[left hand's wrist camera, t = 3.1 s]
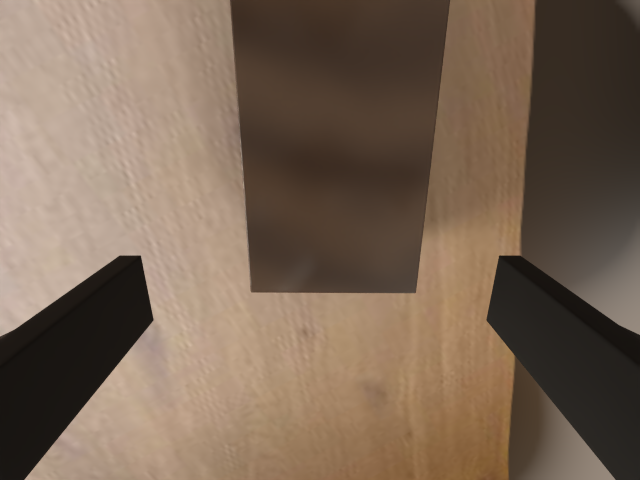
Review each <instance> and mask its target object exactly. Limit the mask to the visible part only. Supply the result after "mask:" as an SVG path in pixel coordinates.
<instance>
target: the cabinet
mask: <svg viewBox="0 0 640 480" xmlns="http://www.w3.org/2000/svg"><path fill="white" fill-rule="evenodd" d="M449 4H450V0H230V5H231V19H232V33H233V47H234V61H235V75H236V89H237V103H238V118H239V132H240V146H241V160H242V174H243V188H244V202H245V216H246V230H247V244H248V258H249V272H250V287H251V292H288V293H416V287H417V278H418V269H419V261H420V252H421V244H422V235H423V227H424V218H425V210H426V201H427V192H428V184H429V175H430V167H431V158H432V150H433V141H434V132H435V124H436V115H437V107H438V98H439V90H440V81H441V73H442V64H443V55H444V47H445V38H446V30H447V21H448V13H449Z"/></svg>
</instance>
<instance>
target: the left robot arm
mask: <svg viewBox="0 0 640 480" xmlns="http://www.w3.org/2000/svg"><path fill="white" fill-rule="evenodd" d="M152 321H153V315H152V310H151V305H150V300H149V295H148V290H147V285H146V280H145V275H144V270H143V264H142V259H141V256H119V257H117V258H116V259H114V260H113V261H112V262H110V263H109V264H107V265H106V266H104V267H103V268H102V269H100V270H99V271H97V272H96V273H95V274H93V275H92V276H90V277H89V278H87V279H86V280H85V281H83V282H82V283H80V284H79V285H77V286H76V287H75V288H73V289H72V290H70V291H69V292H68V293H66V294H65V295H63V296H62V297H60V298H59V299H58V300H56V301H55V302H53V303H52V304H50V305H49V306H48V307H46V308H45V309H43V310H42V311H41V312H39V313H38V314H36V315H35V316H33V317H32V318H31V319H29V320H28V321H26V322H25V323H23V324H22V325H21V326H19V327H18V328H16V329H15V330H13V331H11V332H9V333H7V334H5V335H3V336H1V337H0V480H24V479H25V478H26V477H27V476H28V474H29V473H30V472H31V471H32V470H33V468H34V467H35V466H36V465H37V463H38V462H39V461H40V460H41V458H42V457H43V456H44V455H45V453H46V452H47V451H48V450H49V449H50V447H51V446H52V445H53V444H54V442H55V441H56V440H57V439H58V437H59V436H60V435H61V434H62V432H63V431H64V430H65V429H66V428H67V426H68V425H69V424H70V423H71V421H72V420H73V419H74V418H75V416H76V415H77V414H78V413H79V412H80V410H81V409H82V408H83V407H84V405H85V404H86V403H87V402H88V400H89V399H90V398H91V397H92V395H93V394H94V393H95V392H96V391H97V389H98V388H99V387H100V386H101V384H102V383H103V382H104V381H105V379H106V378H107V377H108V376H109V375H110V373H111V372H112V371H113V370H114V368H115V367H116V366H117V365H118V363H119V362H120V361H121V360H122V358H123V357H124V356H125V355H126V354H127V352H128V351H129V350H130V349H131V347H132V346H133V345H134V344H135V342H136V341H137V340H138V339H139V337H140V336H141V335H142V334H143V333H144V331H145V330H146V329H147V328H148V326H149V325H150V324H151V323H152ZM487 321H488V323H489V324H490V325H491V326H492V328H493V329H494V330H495V331H496V333H497V334H498V335H499V336H500V337H501V339H502V340H503V341H504V342H505V344H506V345H507V346H508V347H509V349H510V350H511V351H512V352H513V354H514V355H515V356H516V357H517V358H518V360H519V361H520V362H521V363H522V365H523V366H524V367H525V368H526V370H527V371H528V372H529V373H530V374H531V376H532V377H533V378H534V379H535V381H536V382H537V383H538V384H539V386H540V387H541V388H542V389H543V390H544V392H545V393H546V394H547V395H548V397H549V398H550V399H551V400H552V402H553V403H554V404H555V405H556V407H557V408H558V409H559V410H560V412H561V413H562V414H563V415H564V416H565V418H566V419H567V420H568V421H569V423H570V424H571V425H572V426H573V428H574V429H575V430H576V431H577V432H578V434H579V435H580V436H581V437H582V439H583V440H584V441H585V442H586V444H587V445H588V446H589V447H590V448H591V450H592V451H593V452H594V453H595V455H596V456H597V457H598V458H599V460H600V461H601V462H602V463H603V465H604V466H605V467H606V468H607V469H608V471H609V472H610V473H611V474H612V476H613V477H614V478H615V479H616V480H640V335H639V334H636V333H634V332H632V331H630V330H628V329H626V328H624V327H622V326H619V325H618V324H617V323H615V322H614V321H612V320H611V319H609V318H608V317H607V316H605V315H604V314H602V313H601V312H599V311H598V310H597V309H595V308H594V307H592V306H591V305H590V304H588V303H587V302H585V301H584V300H582V299H581V298H580V297H578V296H577V295H575V294H574V293H572V292H571V291H570V290H568V289H567V288H565V287H564V286H563V285H561V284H560V283H558V282H557V281H555V280H554V279H553V278H551V277H550V276H548V275H547V274H545V273H544V272H543V271H541V270H540V269H538V268H537V267H536V266H534V265H533V264H531V263H530V262H528V261H527V260H526V259H524V258H523V257H521V256H499V259H498V264H497V270H496V275H495V280H494V285H493V290H492V295H491V300H490V305H489V310H488V315H487Z"/></svg>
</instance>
